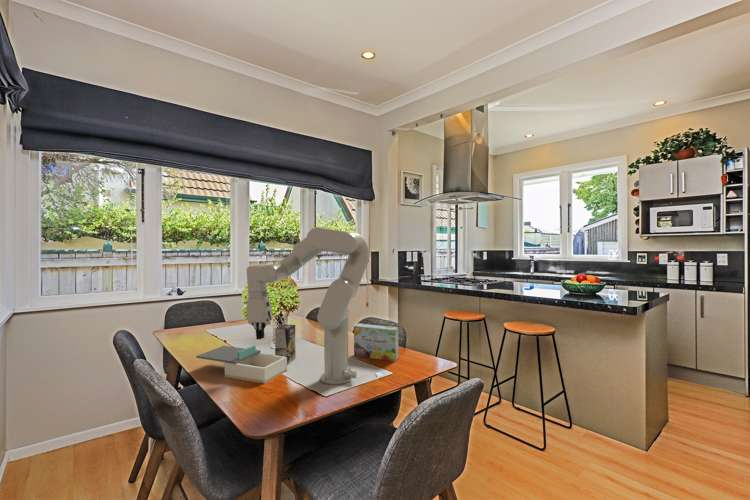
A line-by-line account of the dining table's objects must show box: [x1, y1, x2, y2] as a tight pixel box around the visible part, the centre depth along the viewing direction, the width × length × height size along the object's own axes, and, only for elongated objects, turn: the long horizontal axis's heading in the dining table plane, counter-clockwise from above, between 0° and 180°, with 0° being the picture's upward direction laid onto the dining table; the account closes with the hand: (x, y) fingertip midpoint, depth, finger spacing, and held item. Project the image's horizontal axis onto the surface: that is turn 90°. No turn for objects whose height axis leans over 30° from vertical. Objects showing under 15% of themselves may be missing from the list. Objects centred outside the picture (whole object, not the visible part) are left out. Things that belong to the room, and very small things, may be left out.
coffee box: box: [274, 324, 297, 365], centre depth 174 cm, size 9×6×16 cm
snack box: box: [353, 323, 399, 362], centre depth 179 cm, size 21×6×15 cm, turn 68°
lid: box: [195, 345, 261, 364], centre depth 164 cm, size 21×16×4 cm
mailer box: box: [224, 352, 288, 384], centre depth 159 cm, size 20×15×6 cm
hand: (260, 338), depth 158 cm, fingers closed
